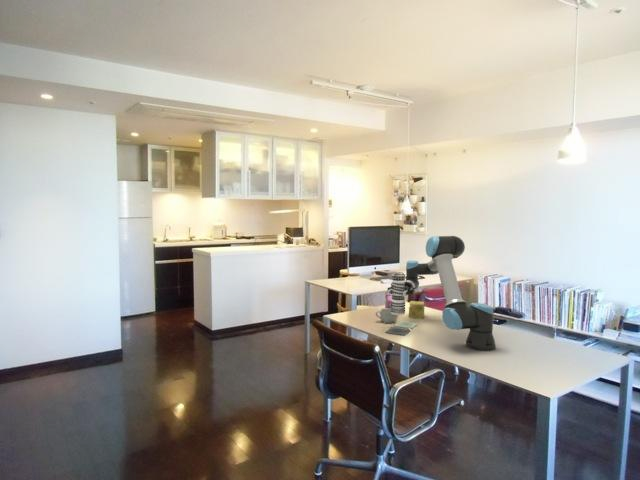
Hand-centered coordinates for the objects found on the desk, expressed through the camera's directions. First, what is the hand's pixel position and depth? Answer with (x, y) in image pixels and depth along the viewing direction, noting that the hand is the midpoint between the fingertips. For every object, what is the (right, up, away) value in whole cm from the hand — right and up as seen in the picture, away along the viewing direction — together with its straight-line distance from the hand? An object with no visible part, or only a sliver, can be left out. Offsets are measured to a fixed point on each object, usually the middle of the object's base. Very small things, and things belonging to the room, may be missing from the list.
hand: (395, 293), depth 254 cm
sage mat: (+10, -23, +20) cm, 32 cm away
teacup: (-1, -22, +28) cm, 36 cm away
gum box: (+5, -21, +49) cm, 53 cm away
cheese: (+22, -21, +42) cm, 52 cm away
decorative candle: (+2, -13, +5) cm, 14 cm away
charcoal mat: (+2, -24, +6) cm, 25 cm away
